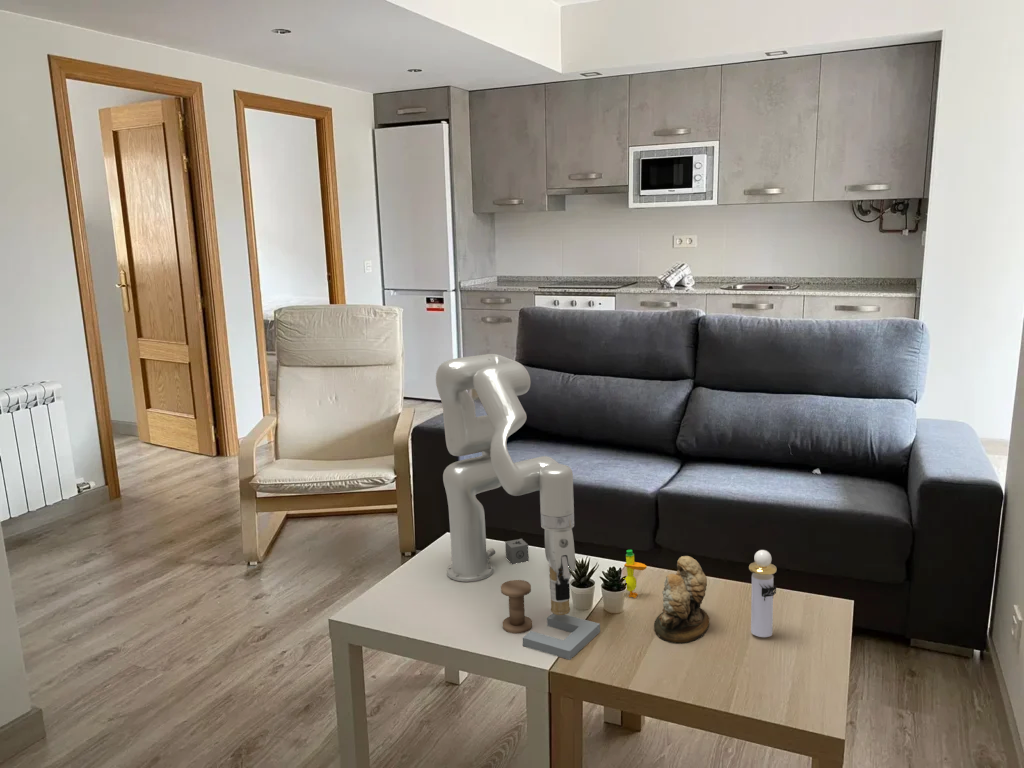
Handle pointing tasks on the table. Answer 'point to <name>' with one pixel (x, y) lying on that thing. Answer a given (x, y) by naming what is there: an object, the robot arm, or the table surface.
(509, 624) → the spool
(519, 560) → the dice cube
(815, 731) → the table surface
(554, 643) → the notched board
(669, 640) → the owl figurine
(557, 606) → the sprinkles bottle
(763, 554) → the perfume bottle
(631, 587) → the toy figure
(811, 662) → the table surface
